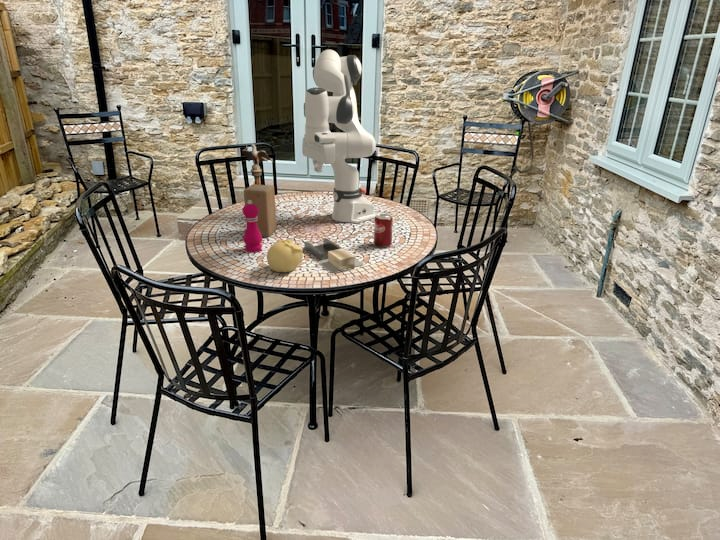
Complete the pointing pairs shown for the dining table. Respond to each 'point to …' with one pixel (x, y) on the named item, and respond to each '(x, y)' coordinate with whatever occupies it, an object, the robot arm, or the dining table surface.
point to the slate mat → (331, 267)
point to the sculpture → (284, 256)
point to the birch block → (341, 259)
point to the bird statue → (256, 161)
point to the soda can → (383, 230)
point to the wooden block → (263, 207)
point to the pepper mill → (251, 228)
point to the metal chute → (321, 248)
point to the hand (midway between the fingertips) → (318, 171)
